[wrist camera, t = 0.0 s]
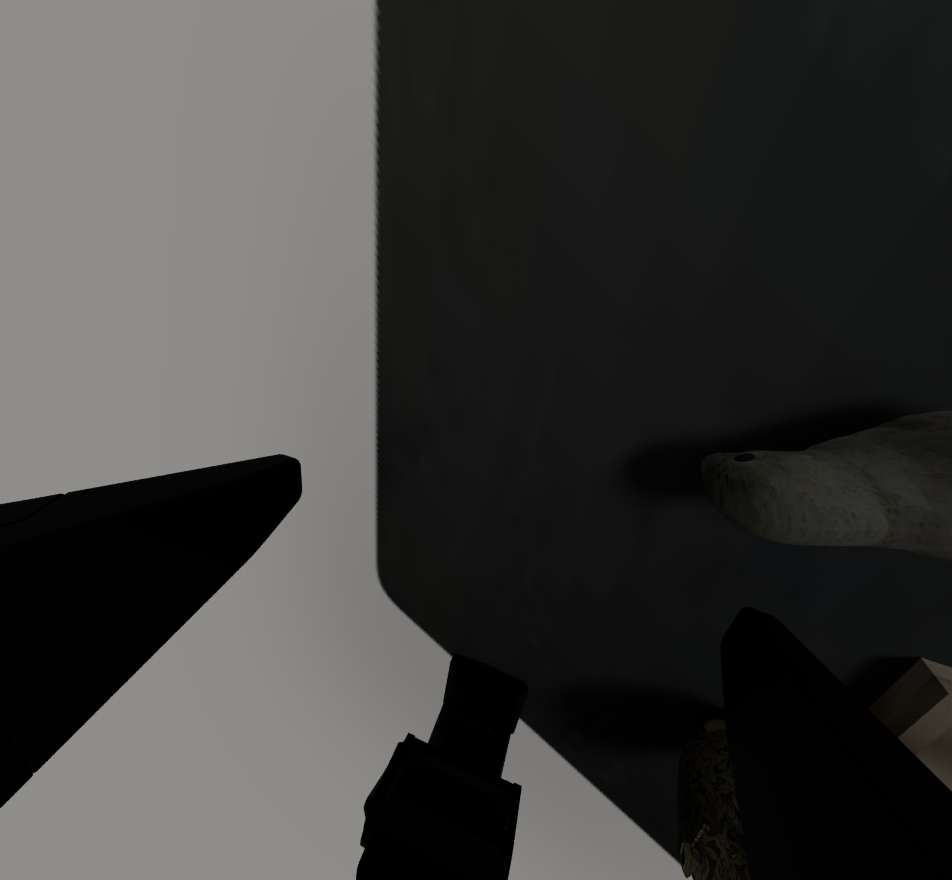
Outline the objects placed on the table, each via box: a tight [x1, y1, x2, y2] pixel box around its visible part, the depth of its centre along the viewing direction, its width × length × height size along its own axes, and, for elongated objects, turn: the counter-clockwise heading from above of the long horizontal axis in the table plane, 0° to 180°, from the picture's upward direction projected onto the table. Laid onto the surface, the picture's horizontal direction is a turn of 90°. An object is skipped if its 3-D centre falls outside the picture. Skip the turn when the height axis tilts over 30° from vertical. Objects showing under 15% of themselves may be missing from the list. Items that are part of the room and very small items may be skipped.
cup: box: [677, 711, 751, 880], centre depth 23 cm, size 8×7×8 cm
